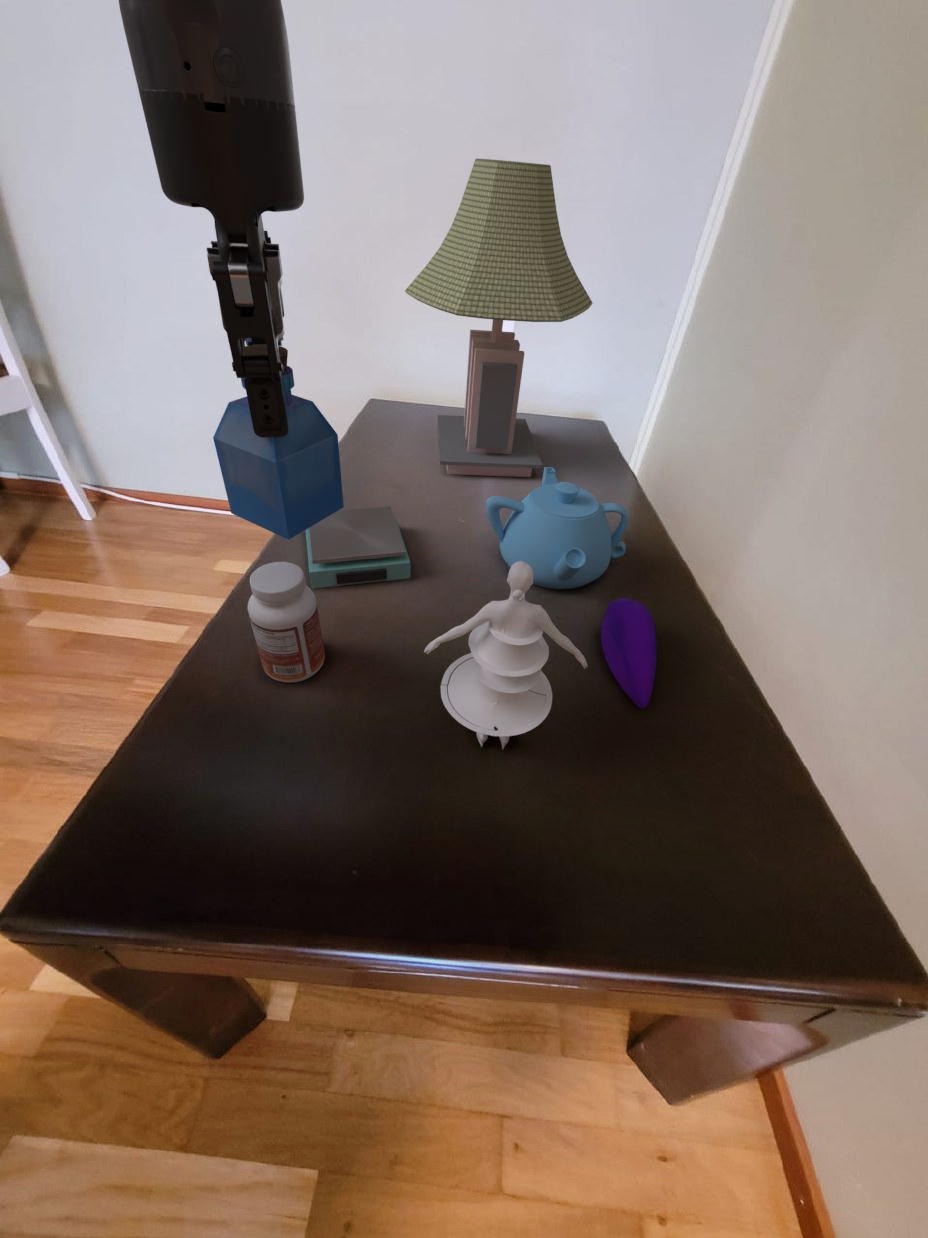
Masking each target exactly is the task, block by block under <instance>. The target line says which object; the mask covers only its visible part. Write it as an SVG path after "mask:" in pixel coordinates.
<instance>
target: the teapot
mask: <svg viewBox="0 0 928 1238" xmlns="http://www.w3.org/2000/svg"><path fill="white" fill-rule="evenodd" d="M501 509H509V510H511V511H512V512H511V513H510V515H509V516H508V518H507V520H506V521H505V524H504V527H503V524H502V522H501V516H500V510H501ZM485 513H486V517H487V519H488V522H489V523H490V526H491V527H492V529H493V531H494V533H495V534H496V536H497V538H498V539H499V550H500V554H501V556H502V559H503V560H504V561H505V563H506V564H507V566H508V567H509V569H510V568H511V566H512V565H513V564H514V563H516V562H518V561H523V562H525V563H527V564H528V565H530V566H531V568H532V569H533V584H532V585H535V586H538V587H542V588H546V589H552V590H572V589H576V588H581V587H584V586H585V585H587V584H589V583H591V582H594V581H595V580H597V579H598V578H600V577H601V576H602V575H603V574H604V573H605V572H606V571H607V569H608V568H609V565H610V562H611V559H619V558H621V557H623V556H624V555H625V553H626V550H627V546H626V543H625V542H624V541H623V540H621V538H622V537H623V535H624V534H625V532H626V531H627V529H628V525H629V524H630V523H629V522H630V515H629V512H628V510H627V509H626V507H624V506H623V505H621V504H619V503H616V502H604V503H602V504H600V501H599V500H598V498H596V496H595V495H594V494H592V493H591V492H589V491H588V490H585V489H584V488H581V487H580V486H578V485H577V484H575V483H573V482H569V481H560V482H558V479H557V475H556V470H555V469H554V467H553V466H552V467H550V466H548V467H547V466H544V467H543V473H542V480H541V485H540V486H538V487H536V488H534V489H533V490H531V492H530V493H528V494H527V495H526V496H525V497H524V498H523V499H522V500H521V501H519V500H516V499H513V498H510V497H507V496H503V495H491V496H490V497H488V498H487V499H486V502H485ZM605 513H607V514H608V513H616V514H619V515H620V516H621V517H620V521H619V523H618V525H617V526H616V528H615V530H614V532H613V533H612V532H611V529H610V526H609V522H608V519H607V517H606V514H605ZM611 533H612V534H611ZM617 547H618V548H617ZM615 548H616V549H615Z"/></svg>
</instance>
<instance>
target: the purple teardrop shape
mask: <svg viewBox="0 0 928 1238" xmlns="http://www.w3.org/2000/svg"><path fill="white" fill-rule="evenodd" d="M606 607H607V608H606V610H605V612H604V615H603V619H602V623H601V630H600V641H601V643H600V644H601V648H602V651H603V655H604V659H605V661H606V663H607V665H608V667H609V669H610V671H611V673H612V675H613V677H614V679H615V680H616V682H617V683H618V685H619V687H620V688H621V689H622V690H623V692H624V693H625V694H626V695H627V696H628V697H629V699H630V700H631V701H632V702H633V703H634V704H635V705H636V706H637V707H638V708H639V709H645V708H646V707H647V706H648V704H649V701H650V699H651V696H652V693H653V688H654V683H655V677H656V667H657V666H656V665H657V635H656V634H657V633H656V625H655V620H654V618H653V615H652V613H651V612H650V610H649V609H648V608H647V607H646V606H645V604H643V603H642V602H641V601H638V600H635V599H631V598H627V597H626V598H624V597H620V598H617V599H616V600H612V601H610V602H608V604H607V606H606Z"/></svg>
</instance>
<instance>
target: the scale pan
mask: <svg viewBox="0 0 928 1238" xmlns="http://www.w3.org/2000/svg"><path fill="white" fill-rule="evenodd" d="M393 513H394V512H393V509H392V506H380V507H366V508H363V507H362V508H351V509H340V510H338V511H337V512H335V513H333V514H332V515H330V516H328V517H326V518H325V519H323V520H321V521H320V522H318V523H316V524H315V525H313V526H311V527H310V528H309V534H310V544H311V554H312V563H313V564H320V563H331V562H341V561H352V560H362V559H373V558H384V557H394V556H405V555H406V551H405V548H404V545H403V542H402V539H401V536H400V533H399V530H398V527H397V523H398V522H397V523H396V520H397V519H396V520H395V517H396V516H395V517H394V514H395V513H394V514H393Z"/></svg>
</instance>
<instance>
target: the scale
mask: <svg viewBox="0 0 928 1238" xmlns="http://www.w3.org/2000/svg"><path fill="white" fill-rule="evenodd" d="M393 514H394V517H395V520H396V523H397V527H398V530H399V533H400V536H401V539H402V542H403V545H404V548H405V551H406V555H405V556H394V557H384V558H373V559H362V560H352V561H341V562H331V563H320V564H313V563H312V554H311V544H310V534H309V528H308V529H306V530H304V532H305V540H306V541H305V543H306V551H307V562H308V563H307V564H308V572H309V580H310V586H311V590H313V589H321V588H331V587H340V586H351V585H358V584H359V585H360V584H369V583H377V582H378V583H379V582H388V581H398V580H405V579H406V580H407V579H408V580H409V579H411V560H410V557H409V553H408V551H407V547H406V544H405V541H404V539H403V536H402V532H401V529H400V526H399V523H398V520H397V517H396V514H395V512H393Z"/></svg>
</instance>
